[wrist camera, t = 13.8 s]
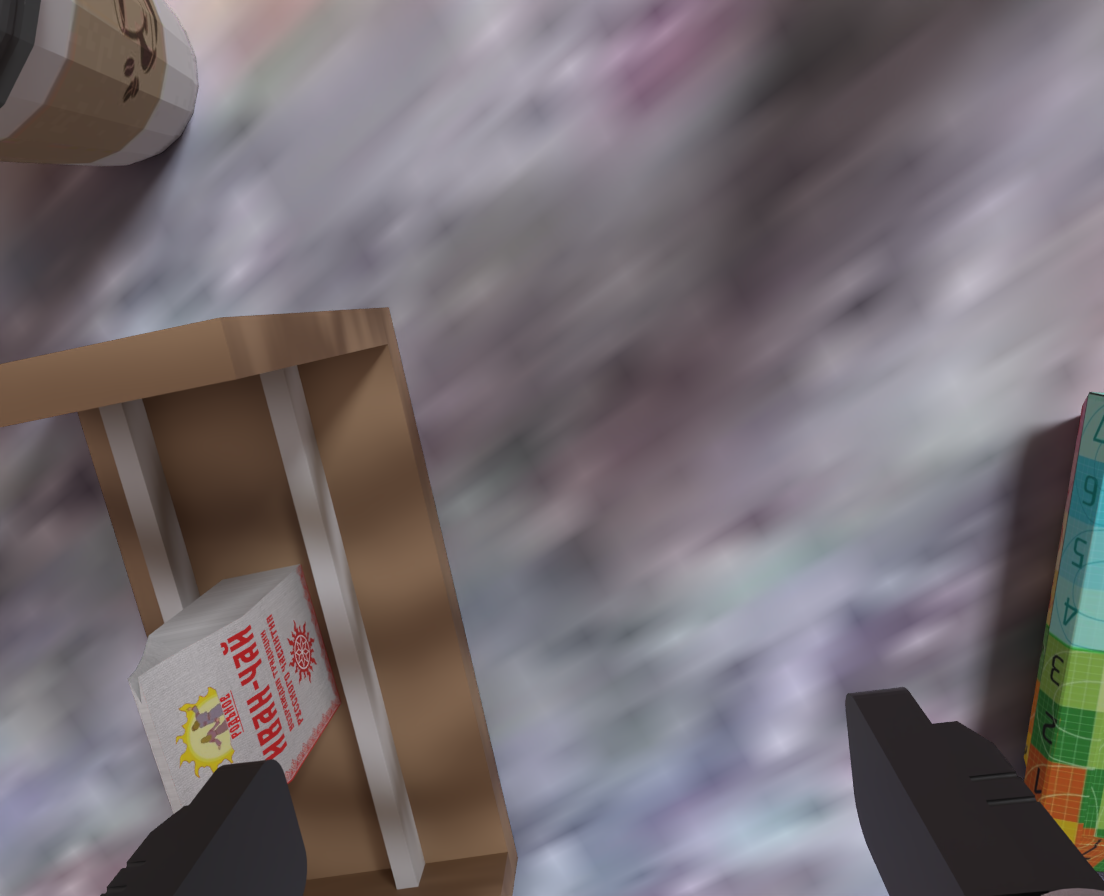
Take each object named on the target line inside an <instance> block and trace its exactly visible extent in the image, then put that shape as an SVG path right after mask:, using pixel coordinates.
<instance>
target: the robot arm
mask: <svg viewBox="0 0 1104 896" xmlns="http://www.w3.org/2000/svg"><path fill="white" fill-rule="evenodd" d="M845 706H846V718H847V728H848V738H849V748H850V757H851V767H852V777H853V787H854V796H855V802H856V808H857V813H858V817H859V821H860V825H861V828H862V832H863V835H864V838H865V841H866V844H867V846H868V848H869V851H870V853H871V855H872V858H873V860H874V862H875V864H876V866H877V869H878V871H879V873H880V875H881V878H882V880H883V882H884V884H885V887H886V889H887V891H888V893H889V896H1104V881H1103V880H1102V879H1101V877H1100V876H1099V875H1098V874H1097V872H1096V871H1095V870H1094V869H1093V867H1092V866H1091V865H1090V864H1089V862H1088V861H1087V860H1086V859H1085V857H1084V856H1083V855H1082V854H1081V852H1080V851H1079V850H1078V849H1077V847H1076V846H1075V845H1074V844H1073V842H1072V841H1071V840H1070V839H1069V837H1068V836H1067V835H1066V834H1065V832H1064V831H1063V830H1062V829H1061V827H1060V826H1059V825H1058V824H1057V822H1056V821H1055V820H1054V819H1053V817H1052V816H1051V815H1050V814H1049V812H1048V811H1047V810H1046V809H1045V807H1044V806H1043V805H1042V804H1041V802H1037V801H1036V798H1035V795H1034V794H1033V792H1032V791H1031V790H1030V789H1029V787H1028V786H1027V785H1026V784H1025V782H1024V781H1023V780H1022V779H1021V777H1017V775H1016V771H1015V770H1014V769H1013V767H1012V766H1011V765H1010V764H1009V763H1008V761H1007V760H1006V759H1005V758H1004V756H1003V755H1002V754H1001V753H1000V751H999V750H998V749H997V748H996V746H995V745H994V744H993V743H992V742H990V741H989V740H987V739H985V738H984V737H982V736H980V735H979V734H977V733H976V732H974V731H972V730H971V729H969V728H967V727H966V726H964V725H963V724H961V723H959V722H958V721H954V722H945V723H936V724H932V723H931V722H930V720H929V719H928V718H927V716H926V715H925V713H924V712H923V711H922V709H921V708H920V706H919V705H918V703H917V702H916V701H915V699H914V698H913V696H912V695H911V693H910V692H909V691H908V690H907V689H906V688H905V687H899V688H891V689H882V690H874V691H865V692H856V693H848V694H847V695H846V702H845ZM306 879H307V856H306V850H305V846H304V842H303V839H302V835H301V831H300V828H299V824H298V820H297V817H296V813H295V810H294V806H293V802H292V799H291V795H290V792H289V788H288V784H287V781H286V777H285V774H284V771H283V769H282V767H281V765H280V764H279V763H278V762H277V761H276V760H274V759H269V760H260V761H252V762H243V763H235V764H226V765H222V766H220V767H219V768H217V770H216V771H215V772H214V773H213V774H212V776H211V777H210V778H209V780H208V781H207V782H206V783H205V785H204V786H203V787H202V789H201V790H200V791H199V793H198V794H197V795H196V796H195V798H194V799H193V800H192V802H191V803H190V804H189V805H186V806H183V807H182V808H181V809H180V810H178V811H177V812H176V813H175V814H173V815H172V816H171V817H170V818H168V819H167V820H166V821H165V822H163V823H162V824H161V825H159V826H158V827H157V828H156V829H154V830H153V831H152V832H151V833H150V834H149V835H148V836H147V838H146V839H145V840H144V841H143V843H142V844H141V845H140V846H139V848H138V849H137V850H136V851H135V853H134V854H133V855H132V856H131V858H130V859H129V860H128V861H127V867H126V868H122V869H121V870H120V871H119V873H118V874H117V875H116V877H115V878H114V879H113V880H112V882H111V883H110V884H109V885H108V887H107V892H106V893H105V894H101V895H100V896H303V893H304V890H305V885H306Z"/></svg>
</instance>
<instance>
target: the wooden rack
mask: <svg viewBox="0 0 1104 896" xmlns="http://www.w3.org/2000/svg"><path fill="white" fill-rule="evenodd" d="M73 412H78V416H79V419H80V422H81V425H82V429H83V432H84V435H85V438H86V441H87V445H88V448H89V451H90V454H91V458H92V461H93V464H94V467H95V470H96V474H97V477H98V480H99V483H100V487H101V490H102V493H103V496H104V500H105V503H106V506H107V509H108V512H109V516H110V519H111V522H112V525H113V529H114V532H115V535H116V538H117V541H118V545H119V548H120V551H121V554H122V558H123V561H124V564H125V567H126V571H127V574H128V577H129V580H130V583H131V587H132V590H133V593H134V596H135V600H136V603H137V606H138V609H139V612H140V616H141V619H142V622H143V625H144V629H145V632H146V635H147V638H148V636H149V635H150V634H151V633H153V632H154V631H155V630H157V629H158V628H159V627H160V626H162V625H163V624H164V623H166V622H167V621H168V620H170V619H171V618H172V617H174V616H175V615H176V614H178V613H179V612H180V611H182V610H183V609H184V608H186V607H187V606H188V605H190V604H191V603H192V602H194V601H195V600H196V599H198V598H199V597H200V596H202V595H203V594H204V593H206V592H207V591H208V590H210V589H211V588H212V587H213V586H215V585H216V584H217V583H219V582H220V581H221V580H223V579H228V578H233V577H238V576H243V575H248V574H253V573H258V572H263V571H268V570H273V569H278V568H283V567H288V566H293V565H298V564H301V566H302V570H303V573H304V577H305V580H306V584H307V587H308V590H309V594H310V597H311V601H312V604H313V608H314V611H315V614H316V618H317V621H318V625H319V628H320V632H321V635H322V638H323V642H324V645H325V649H326V652H327V656H328V659H329V662H330V666H331V669H332V673H333V676H334V680H335V683H336V687H337V690H338V693H339V697H340V700H341V704H340V706H339V707H338V709H337V710H336V712H335V714H334V715H333V717H332V718H331V720H330V722H329V723H328V725H327V726H326V728H325V729H324V731H323V733H322V734H321V736H320V737H319V739H318V740H317V742H316V744H315V745H314V747H313V748H312V750H311V751H310V753H309V755H308V756H307V758H306V759H305V761H304V763H303V764H302V766H301V767H300V769H299V770H298V772H297V774H296V775H295V777H294V778H293V780H292V781H291V782H290V783H289V784H288V788H289V792H290V795H291V799H292V802H293V806H294V810H295V813H296V817H297V820H298V824H299V828H300V831H301V835H302V839H303V842H304V846H305V850H306V856H307V879H306V885H305V890H304V893H303V896H512V894H513V887H514V880H515V873H516V866H517V859H518V857H517V852H516V848H515V844H514V840H513V835H512V831H511V827H510V823H509V818H508V814H507V810H506V806H505V801H504V797H503V793H502V788H501V784H500V780H499V776H498V771H497V767H496V763H495V759H494V754H493V750H492V746H491V742H490V737H489V733H488V729H487V724H486V720H485V716H484V712H483V707H482V703H481V699H480V695H479V690H478V686H477V682H476V678H475V673H474V669H473V665H472V660H471V656H470V652H469V648H468V643H467V639H466V635H465V631H464V626H463V622H462V618H461V614H460V609H459V605H458V601H457V596H456V592H455V588H454V584H453V579H452V575H451V571H450V567H449V562H448V558H447V554H446V550H445V545H444V541H443V537H442V532H441V528H440V524H439V520H438V515H437V511H436V507H435V503H434V498H433V494H432V490H431V486H430V481H429V477H428V473H427V468H426V464H425V460H424V456H423V451H422V447H421V443H420V439H419V434H418V430H417V426H416V422H415V417H414V413H413V409H412V404H411V400H410V396H409V392H408V387H407V383H406V379H405V375H404V370H403V366H402V362H401V358H400V353H399V349H398V345H397V340H396V336H395V332H394V328H393V323H392V319H391V315H390V311H389V307H386V308H370V309H353V310H337V311H321V312H304V313H288V314H271V315H255V316H238V317H222V318H216V319H211V320H206V321H202V322H197V323H192V324H187V325H183V326H178V327H173V328H169V329H164V330H159V331H154V332H150V333H145V334H140V335H135V336H131V337H126V338H121V339H117V340H112V341H107V342H102V343H98V344H93V345H88V346H84V347H79V348H74V349H69V350H65V351H60V352H55V353H50V354H46V355H41V356H36V357H32V358H27V359H22V360H17V361H13V362H8V363H3V364H0V427H4V426H9V425H14V424H19V423H24V422H29V421H34V420H39V419H44V418H49V417H54V416H58V415H63V414H68V413H73Z"/></svg>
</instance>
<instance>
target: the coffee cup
mask: <svg viewBox="0 0 1104 896" xmlns="http://www.w3.org/2000/svg"><path fill="white" fill-rule="evenodd" d="M197 91H198V75H197V65H196V57H195V54H194V52H193V49H192V47H191V44H190V42H189V39H188V37H187V34H186V32H185V30H184V29H183V27H182V26H181V23H180V21H179V19H178V17H177V16H176V15H175V13H174V12H173V11H172V10H171V8H170V7H169V6H168V4H167V3H166V2H165V1H164V0H0V161H3V162H23V163H44V164H64V165H85V166H123V165H130V164H132V163H135V162H140V161H143V160H145V159H148V158H150V157H152V156H155V155H157V154H160V153H162V152H163V151H164V150H165V149H167V148H168V147H169V146H170V145H171V144H172V143H173V142H174V141H175V140H177V139H178V138H179V137H180V136H181V134H182V132H183V131H184V129H185V127H186V125H187V123H188V122H189V120H190V118H191V116H192V114H193V112H194V107H195V101H196V96H197Z"/></svg>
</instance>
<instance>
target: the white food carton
mask: <svg viewBox="0 0 1104 896" xmlns="http://www.w3.org/2000/svg"><path fill="white" fill-rule="evenodd" d="M128 681H129V684H130V687H131V690H132V693H133V696H134V699H135V702H136V705H137V708H138V711H139V714H140V717H141V720H142V723H143V725H144V728H145V731H146V734H147V737H148V740H149V743H150V746H151V749H152V752H153V755H154V758H155V761H156V764H157V767H158V770H159V773H160V775H161V778H162V781H163V784H164V787H165V790H166V793H167V796H168V799H169V802H170V805H171V808H172V811H173V814H175V813H176V812H177V811H178V810H180V809H181V808H182V807H183V806H186V805H189V804H190V803H191V802H192V800H193V799H194V798H195V796H196V795H197V794H198V793H199V791H200V790H201V789H202V787H203V786H204V785H205V783H206V782H207V781H208V780H209V778H210V777H211V776H212V774H213V773H214V772H215V771H216V770H217V768H219V767H220V766H222V765H226V764H235V763H243V762H252V761H260V760H269V759H274V760H276V761H277V762H278V763H279V764H280V765H281V767H282V769H283V771H284V774H285V777H286V781H287V784H289V783H290V782H291V781H292V780H293V778H294V777H295V775H296V774H297V772H298V770H299V769H300V767H301V766H302V764H303V763H304V761H305V759H306V758H307V756H308V755H309V753H310V751H311V750H312V748H313V747H314V745H315V744H316V742H317V740H318V739H319V737H320V736H321V734H322V733H323V731H324V729H325V728H326V726H327V725H328V723H329V722H330V720H331V718H332V717H333V715H334V714H335V712H336V710H337V709H338V707H339V706H340V704H341V700H340V697H339V693H338V690H337V687H336V683H335V680H334V676H333V673H332V669H331V666H330V662H329V659H328V656H327V652H326V649H325V645H324V642H323V638H322V635H321V632H320V628H319V625H318V621H317V618H316V614H315V611H314V608H313V604H312V601H311V597H310V594H309V590H308V587H307V584H306V580H305V577H304V573H303V570H302V566H301V564H298V565H293V566H288V567H283V568H278V569H273V570H268V571H263V572H258V573H253V574H248V575H243V576H238V577H233V578H228V579H223V580H221V581H220V582H219V583H217V584H216V585H215V586H213V587H212V588H211V589H210V590H208V591H207V592H206V593H204V594H203V595H202V596H200V597H199V598H198V599H196V600H195V601H194V602H192V603H191V604H190V605H188V606H187V607H186V608H184V609H183V610H182V611H180V612H179V613H178V614H176V615H175V616H174V617H172V618H171V619H170V620H168V621H167V622H166V623H164V624H163V625H162V626H160V627H159V628H158V629H157V630H155V631H154V632H153V633H151V634H150V635H149V636H148V639H147V643H146V646H145V650H144V653H143V656H142V659H141V661H140V663H139V665H138V667H137V669H136V670H135V671H134V672H133V674H132V675H131V676H130V677H129V678H128Z"/></svg>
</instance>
